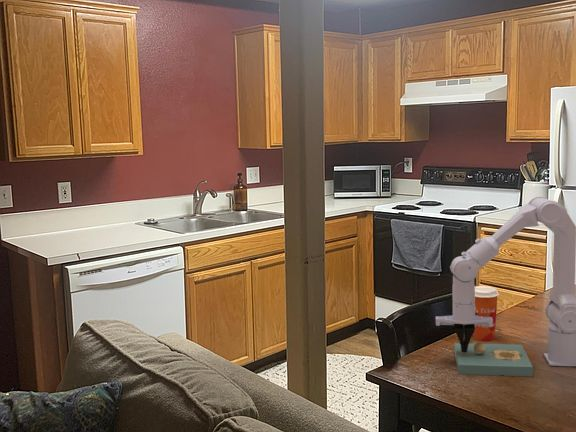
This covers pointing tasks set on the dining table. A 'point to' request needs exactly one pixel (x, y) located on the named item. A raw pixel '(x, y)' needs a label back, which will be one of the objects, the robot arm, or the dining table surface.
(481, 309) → the coffee cup
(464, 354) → the hole board
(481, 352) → the maple ball
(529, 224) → the robot arm
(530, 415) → the dining table surface
